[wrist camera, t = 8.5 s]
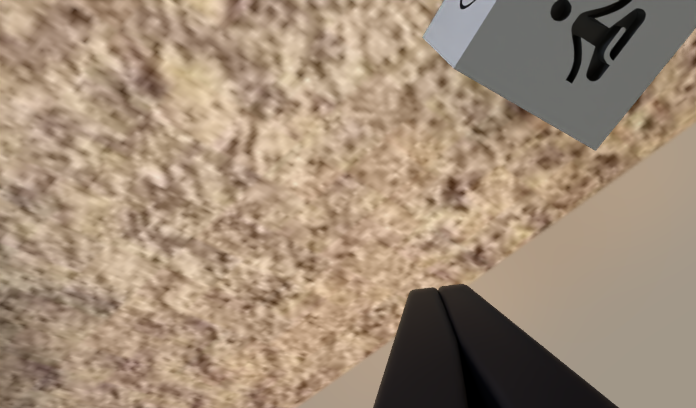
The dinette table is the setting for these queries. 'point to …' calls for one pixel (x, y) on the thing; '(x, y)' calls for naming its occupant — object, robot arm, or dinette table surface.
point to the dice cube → (564, 54)
